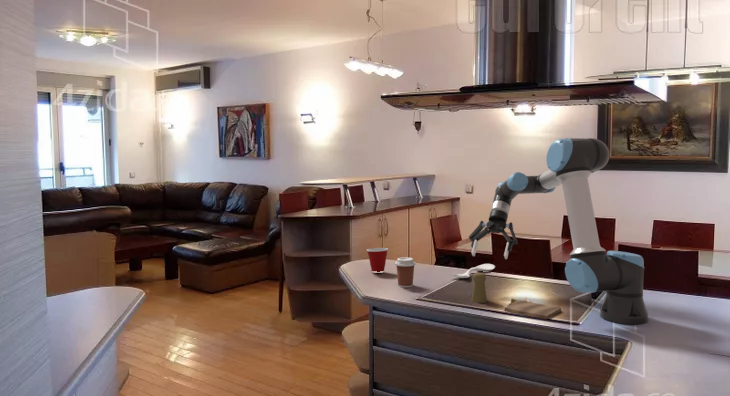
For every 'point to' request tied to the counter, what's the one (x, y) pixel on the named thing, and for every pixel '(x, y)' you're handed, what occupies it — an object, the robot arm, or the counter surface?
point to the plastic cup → (377, 258)
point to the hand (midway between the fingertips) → (488, 256)
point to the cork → (479, 288)
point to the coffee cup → (405, 271)
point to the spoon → (481, 268)
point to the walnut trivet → (532, 309)
